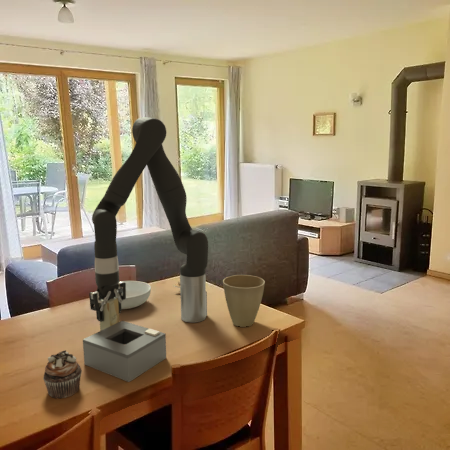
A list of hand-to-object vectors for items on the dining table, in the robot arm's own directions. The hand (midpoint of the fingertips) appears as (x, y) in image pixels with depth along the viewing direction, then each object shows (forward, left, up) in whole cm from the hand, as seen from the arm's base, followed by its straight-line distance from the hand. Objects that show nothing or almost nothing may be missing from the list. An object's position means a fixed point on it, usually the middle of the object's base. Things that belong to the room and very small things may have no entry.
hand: (109, 316), depth 148 cm
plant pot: (-34, +32, -8) cm, 47 cm away
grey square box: (+9, +16, -7) cm, 20 cm away
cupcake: (+29, +13, -8) cm, 33 cm away
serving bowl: (-24, -17, -8) cm, 30 cm away
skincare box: (0, 0, -6) cm, 6 cm away
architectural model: (-48, -6, -8) cm, 49 cm away
